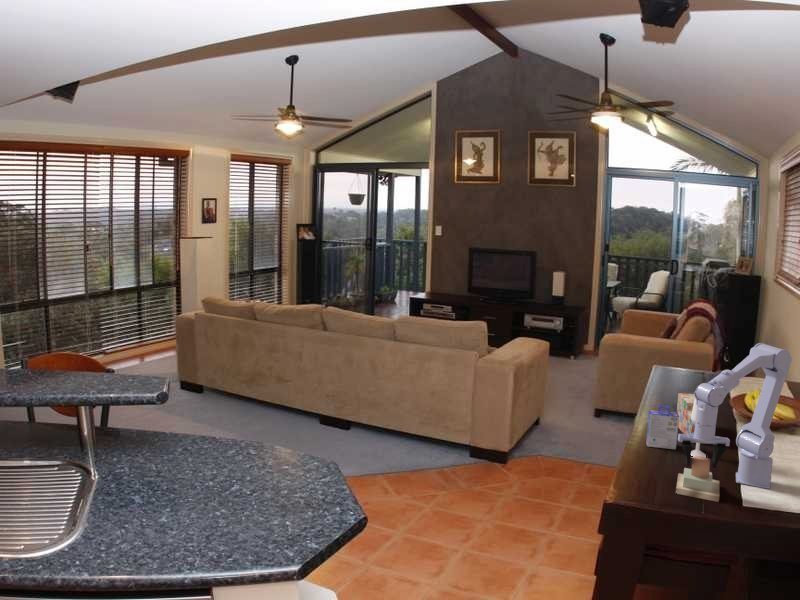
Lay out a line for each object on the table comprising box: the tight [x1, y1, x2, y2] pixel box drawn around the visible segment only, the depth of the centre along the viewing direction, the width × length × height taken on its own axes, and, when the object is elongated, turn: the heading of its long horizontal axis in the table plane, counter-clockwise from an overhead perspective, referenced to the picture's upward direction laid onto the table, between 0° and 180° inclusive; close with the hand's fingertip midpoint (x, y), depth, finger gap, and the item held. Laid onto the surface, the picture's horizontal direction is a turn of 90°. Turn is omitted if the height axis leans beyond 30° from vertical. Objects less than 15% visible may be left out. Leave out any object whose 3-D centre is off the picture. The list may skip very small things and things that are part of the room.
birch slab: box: [675, 472, 720, 503], centre depth 223 cm, size 12×12×2 cm
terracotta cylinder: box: [691, 456, 711, 478], centre depth 222 cm, size 5×5×5 cm
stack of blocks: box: [676, 393, 707, 445], centre depth 271 cm, size 21×6×12 cm, turn 173°
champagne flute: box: [691, 398, 707, 458], centre depth 249 cm, size 7×7×24 cm
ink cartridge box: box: [645, 404, 679, 450], centre depth 257 cm, size 10×6×14 cm, turn 79°
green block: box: [683, 467, 713, 492], centre depth 223 cm, size 8×8×3 cm
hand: (700, 465), depth 222 cm, fingers open, 7 cm apart
